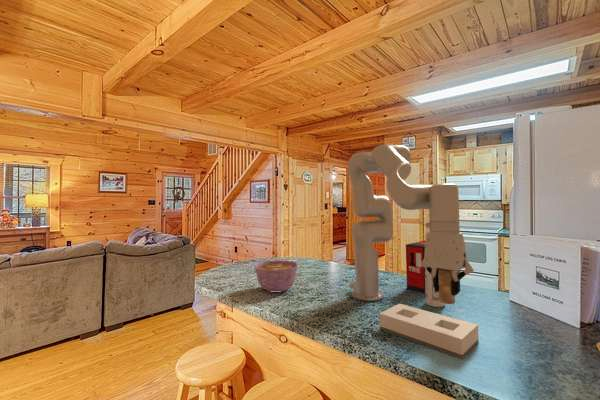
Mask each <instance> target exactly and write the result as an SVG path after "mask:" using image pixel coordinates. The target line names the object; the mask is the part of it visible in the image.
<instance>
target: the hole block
mask: <svg viewBox="0 0 600 400" xmlns="http://www.w3.org/2000/svg"><path fill="white" fill-rule="evenodd" d="M379 329H380V330H381V329H382V330H381V331H383V330H384V332H386V331H387V332H386V333H389V334H392V335H395V336H398V337H400V338H403V339H406V340H409V341H410V342H411V341H412V342H414V343H417V344H419V345H422V346H425V347H427V348H430V349H434V350H435V351H436V350H437V351H438V352H442V353H444V354H446V355H447V354H448V355H450V356H453V357H456V358H459V359H461V360H464V358H465V357H466V356H467V355H468V354H469V353H470V352H471V351H472V350H473V349H474V348H475V347H476V346H477V345H478V344H479V324H477V323H473V322H469V321H465V320H462V319H458V318H454V317H452V316H451V317H450V316H448V315H443V314H440V313H435V312H431V311H429V310H425V309H420V308H417V307H414V306H413V307H412V306H411V305H407V304H402V303H398V304H396V305H394V306H392V307H390V308H388V309H386V310H384V311H382V312H380V313H379Z"/></svg>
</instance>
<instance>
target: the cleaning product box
mask: <svg viewBox="0 0 600 400" xmlns="http://www.w3.org/2000/svg"><path fill="white" fill-rule="evenodd" d="M425 241H426V240H422V241H416V242H411V243H407V244H405V263H406V264H405V265H406V269H405V270H406V289H407V290H409V291H413V292H417V293H421V294H425V270H426V269H425V268H424V267H423V266H422V265H421V262H422V261H423V259H424V253H425Z"/></svg>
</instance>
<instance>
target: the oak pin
mask: <svg viewBox="0 0 600 400" xmlns="http://www.w3.org/2000/svg"><path fill="white" fill-rule="evenodd" d="M451 281H453V276H452V271H451V270H446V269H438V283H439V301H440V302H441V303H445V304H446V305H453V304H455V303H456V295H455V296H453V295H452V288H451Z"/></svg>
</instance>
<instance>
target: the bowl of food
mask: <svg viewBox="0 0 600 400" xmlns="http://www.w3.org/2000/svg"><path fill="white" fill-rule="evenodd" d="M298 265H299V263H297V262H295V261H291V260H269V261H262V262H259V263H256V264H255V265H254V270H255V273H256V277H257V280H258V284H259V285H260V287H261V288H262V289H264V290H266V291H268V292H269V291H283V290H285V291H286V290H288V289H290V288H291V287H292V286H293V285H294V283H295V280H296V277H297V271H298Z"/></svg>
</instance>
